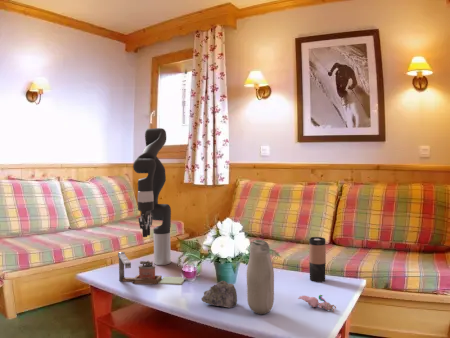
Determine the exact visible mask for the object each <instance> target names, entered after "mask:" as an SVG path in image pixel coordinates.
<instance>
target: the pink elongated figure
mask: <svg viewBox="0 0 450 338" xmlns="http://www.w3.org/2000/svg"><path fill="white" fill-rule="evenodd" d="M297 299H298V300H303V302H306V303H308V304H307V305H309V306H310V307H311V308H314V307H316V308H318V307H319V309H324V310H325V309H326V310H330V311H331V310H332V312H335V310H336V309H337V305H335V304H331V303H330V302H328V301H326V299H325V298H323V294H319V295H318V298H316V297H314V296H308V295H301V296H299V297H298V298H297ZM319 301H321V302H319ZM326 310H325V311H326Z"/></svg>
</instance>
